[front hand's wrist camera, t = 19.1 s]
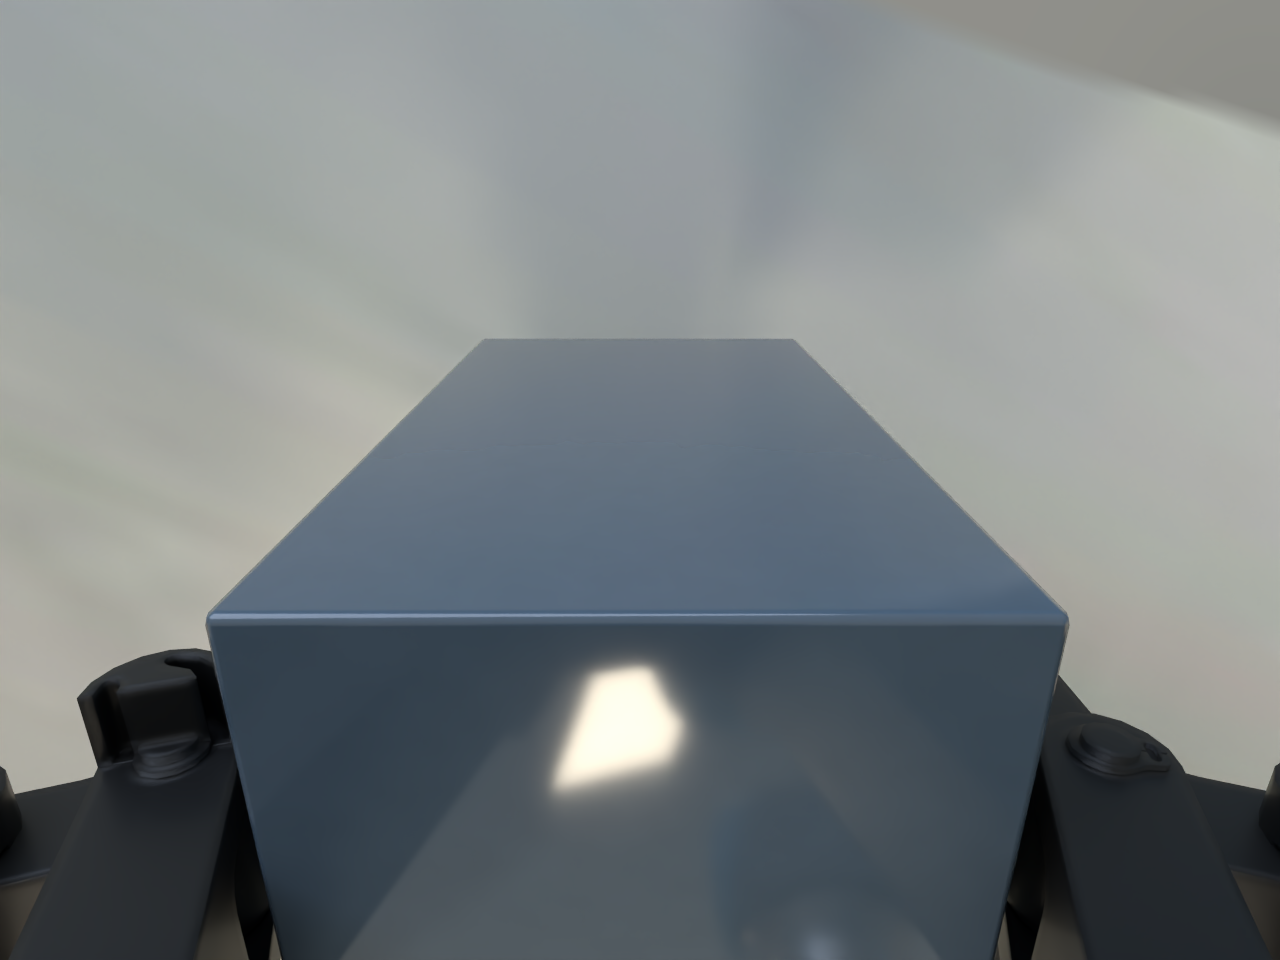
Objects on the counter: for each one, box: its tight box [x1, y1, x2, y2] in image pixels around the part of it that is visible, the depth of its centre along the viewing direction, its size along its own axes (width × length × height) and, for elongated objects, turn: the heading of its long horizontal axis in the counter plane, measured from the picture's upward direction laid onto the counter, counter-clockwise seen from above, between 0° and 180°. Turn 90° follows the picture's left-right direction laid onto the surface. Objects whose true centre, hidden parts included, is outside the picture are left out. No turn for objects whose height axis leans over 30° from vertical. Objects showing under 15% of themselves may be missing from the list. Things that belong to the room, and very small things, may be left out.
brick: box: [205, 339, 1069, 960], centre depth 11 cm, size 6×6×10 cm
